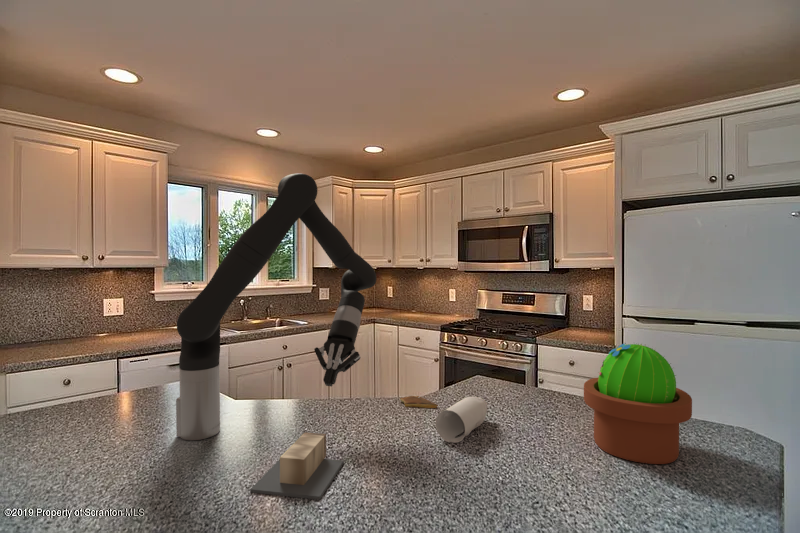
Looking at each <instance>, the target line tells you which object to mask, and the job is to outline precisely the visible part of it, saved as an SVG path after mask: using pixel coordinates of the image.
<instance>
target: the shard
mask: <svg viewBox="0 0 800 533" xmlns="http://www.w3.org/2000/svg"><path fill="white" fill-rule="evenodd" d="M418 397H420V398H418ZM399 401H400V402H401V403H403V404H404V407H405V408H408V407H409V408H410V407H411V408H412V407H413V408H425V409H427V408H428V409H436V408H438V406H439V404H436V403H435V402H432V401H430V400H428V399H427V398H424V397H422V396H419V395H408V396H405V397H400V398H399Z"/></svg>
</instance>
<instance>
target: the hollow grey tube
mask: <svg viewBox="0 0 800 533" xmlns="http://www.w3.org/2000/svg"><path fill="white" fill-rule="evenodd" d="M488 405H489V404H488V403H487V401H486V400H485V399H483V398H482V397H481V396H479V397H476V396H466V397H464V398H462V399H461V400H459V401H457V402H455V403H454V404H452V405H451V406H449V407H448V408H446V409H445V410H444V409H443V410H442V411H440V412H438V413H437V416H436V417H435V422H434V424H435V427H436V428H435V429H436V431H437V434H438V435H439V437H440V438H441V439H442V440H444V441H445V442H447V443H453V444H456V443H459V442H462V441H463V439H464V438H465V437H467V436H469V435H470V434H471V432H472V431H473V430H475V429H476V428H479V427H480V426H481V425H482V424H483V423H484V422H485V420H486V416H487V414H488ZM463 432H464V433H463ZM462 433H463V434H462ZM458 435H459V436H458Z"/></svg>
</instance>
